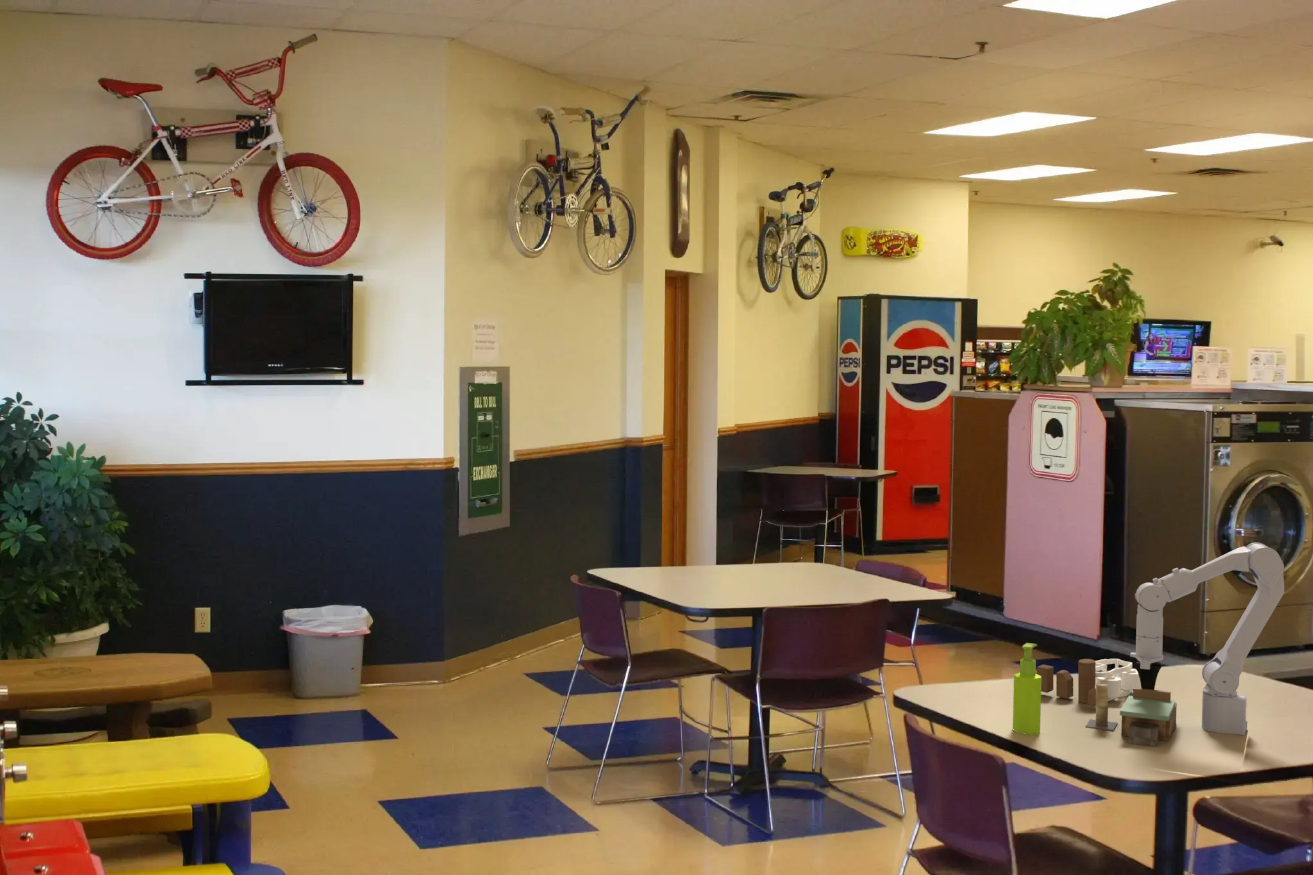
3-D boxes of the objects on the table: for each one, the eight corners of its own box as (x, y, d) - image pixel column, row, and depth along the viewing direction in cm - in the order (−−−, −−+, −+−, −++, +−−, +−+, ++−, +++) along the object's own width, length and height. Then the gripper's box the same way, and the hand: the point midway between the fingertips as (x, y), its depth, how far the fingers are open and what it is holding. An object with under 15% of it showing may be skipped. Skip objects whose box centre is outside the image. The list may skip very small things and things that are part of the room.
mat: (1117, 724, 303) (1117, 722, 303) (1113, 731, 297) (1113, 729, 297) (1090, 721, 306) (1090, 719, 305) (1085, 727, 299) (1085, 726, 299)
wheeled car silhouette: (1110, 705, 321) (1111, 676, 320) (1068, 697, 329) (1069, 668, 328) (1149, 693, 334) (1150, 664, 334) (1108, 685, 343) (1109, 657, 342)
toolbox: (1176, 724, 303) (1176, 702, 303) (1166, 747, 284) (1167, 724, 283) (1130, 718, 308) (1130, 697, 308) (1117, 741, 288) (1118, 719, 288)
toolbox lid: (1175, 704, 300) (1175, 691, 300) (1168, 720, 286) (1168, 707, 285) (1128, 699, 304) (1129, 686, 304) (1119, 715, 290) (1120, 701, 290)
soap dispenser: (1044, 731, 296) (1046, 643, 295) (1036, 738, 290) (1038, 648, 289) (1017, 727, 299) (1020, 640, 298) (1009, 734, 293) (1011, 645, 292)
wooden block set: (1032, 698, 327) (1032, 658, 326) (1050, 690, 333) (1050, 651, 332) (1099, 714, 314) (1099, 672, 313) (1117, 705, 320) (1117, 664, 319)
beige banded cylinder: (1110, 724, 301) (1110, 685, 300) (1103, 726, 299) (1103, 686, 299) (1100, 722, 303) (1100, 683, 303) (1093, 724, 301) (1093, 684, 301)
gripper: (1135, 628, 311) (1133, 686, 312) (1126, 639, 298) (1125, 699, 299) (1166, 631, 308) (1165, 689, 308) (1160, 642, 295) (1158, 702, 295)
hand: (1147, 694), depth 303 cm, fingers closed
